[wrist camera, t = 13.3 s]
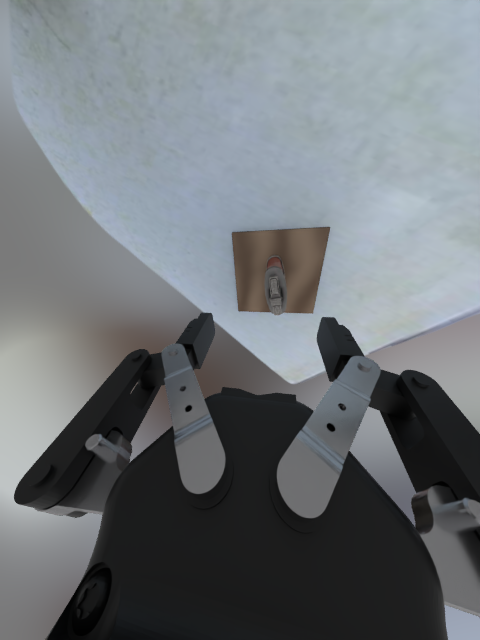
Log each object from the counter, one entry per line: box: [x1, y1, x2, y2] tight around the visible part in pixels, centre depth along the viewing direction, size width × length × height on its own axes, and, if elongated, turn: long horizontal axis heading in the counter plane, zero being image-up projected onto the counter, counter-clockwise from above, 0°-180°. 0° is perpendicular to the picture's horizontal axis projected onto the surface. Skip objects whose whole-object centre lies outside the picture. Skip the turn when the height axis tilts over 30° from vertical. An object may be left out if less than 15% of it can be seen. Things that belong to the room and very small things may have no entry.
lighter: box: [264, 255, 287, 315], centre depth 28 cm, size 8×3×10 cm, turn 13°
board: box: [232, 227, 330, 313], centre depth 33 cm, size 16×16×1 cm
